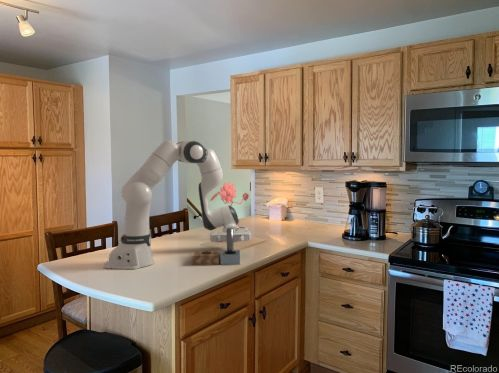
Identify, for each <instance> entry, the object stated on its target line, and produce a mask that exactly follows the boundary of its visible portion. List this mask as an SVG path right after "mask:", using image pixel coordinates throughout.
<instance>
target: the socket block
mask: <svg viewBox="0 0 499 373" xmlns="http://www.w3.org/2000/svg"><path fill="white" fill-rule="evenodd" d="M220 265H221V266H222V265H223V266H224V265H227V266H228V265H241V251H240V250H239V249H234V254H227V249H226V250H224V249H223V250H220Z"/></svg>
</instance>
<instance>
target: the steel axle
mask: <svg viewBox="0 0 499 373" xmlns="http://www.w3.org/2000/svg"><path fill="white" fill-rule="evenodd" d="M234 243H235V242H234V241H233V228H227V242H226V250H227V254H234V250H235V248H234Z"/></svg>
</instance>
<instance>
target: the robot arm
mask: <svg viewBox="0 0 499 373" xmlns="http://www.w3.org/2000/svg"><path fill="white" fill-rule="evenodd" d="M177 161H178V162H182V163H185V164H196V165H197V166H198V168H199V172H200V177H201V180H200V182H199V183H198V196H199V201H200V202H199V204H200V209H201V221H202V226H203V227H204V229H205V230H208V231H213V230H215V229H218V228H221V227H222V230H221V231H213V232H211V233H210V234H209V240H210V242H212V243H216V242H219V243H221V242H226V243H227V228H233V241H234V243H237V242H249V241H251V240H252V234H251V231H250V230H249V229H248V227H243V226H239V227H238V222H239V223H240V220H238V219H239V216H238V212H236V209H235V208H234V206H232V205H230V204H229V205H225V206H222V207H219V208H216V209H213V210H210V207H209V201H208V200H209V199H208V196H209V194H210V192H212V191H213V190H214V189H215V188H217V187H218V186H219V185H220V184H221V182H222V181H223V180H224V179H223V178H224V171H223V169H222V166H221V163H220V160H219V158H218V156H217V154H216V152H215V150H214V149H212V148H206V147H205V146H203V144H201V142H199V141H196V140H185V141H179V142H177V143H176V142H175V141H173V140H170V139H168V140H167V139H166V140H165V141H163V142H161V143H160V144H159V145H158V146H157V147H156V149H155V150H153V152H152V153H151V154H150V156H149V157H148V158H147V159H146V161H145V162H144V163H143V164H142V165H141V167H140V168H139V169H138V170H136V172H135V173H134V174H133V175H131V177H130V178H129V179H128V181H127V182H126V183H125V184H124V185H123V186H122V187H121V193H120V194H121V197H122V199H123V200H124V201H125V203H126V205H125V216H124V234H122V235H121V237H120V239H119V240H120V242H121V243H120V244H118V245H117V246H116V247H115V248H113V249H112V250H111V252H110V253H109V256H108V260H107V261H106V262H104V264H103V268H104V269H111V268H112V269H116V270H117V269H118V270H136V269H140V268H143V267H144V268H146V267H149V266H151V265H153V264H154V263H155V261H154V257H153V254H152V247H151V246H152V245H151V244H152V237H151V233H150V214H151V212H150V211H151V204H152V198H153V197H152V196H153V192H152V189H154V187H155V186H157V184H159V183H160V182H161V181H162V180H163V179H164V177H165V176H166V175H167V173H168V172H169V171H170V169H171V168H173V165H174V164H175V163H176V162H177Z"/></svg>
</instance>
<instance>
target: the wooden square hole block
mask: <svg viewBox="0 0 499 373" xmlns="http://www.w3.org/2000/svg"><path fill="white" fill-rule="evenodd" d="M219 264H220V250H193V253H192V266H217V265H218V266H219Z"/></svg>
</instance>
